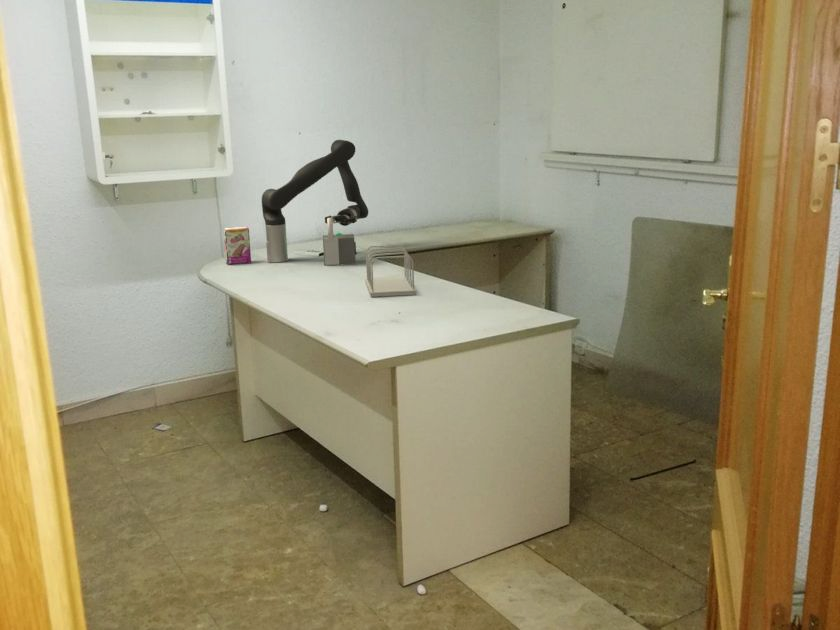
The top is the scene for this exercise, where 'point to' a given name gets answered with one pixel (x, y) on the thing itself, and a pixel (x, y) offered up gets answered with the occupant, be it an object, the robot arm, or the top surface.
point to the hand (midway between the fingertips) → (336, 221)
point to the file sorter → (389, 284)
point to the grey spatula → (331, 246)
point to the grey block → (345, 248)
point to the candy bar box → (237, 245)
